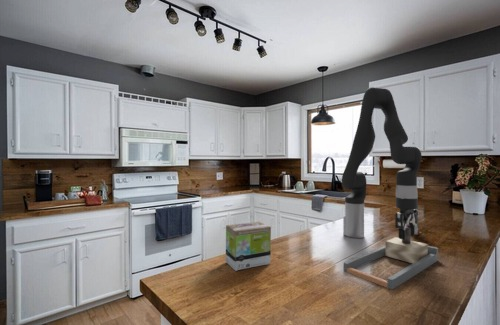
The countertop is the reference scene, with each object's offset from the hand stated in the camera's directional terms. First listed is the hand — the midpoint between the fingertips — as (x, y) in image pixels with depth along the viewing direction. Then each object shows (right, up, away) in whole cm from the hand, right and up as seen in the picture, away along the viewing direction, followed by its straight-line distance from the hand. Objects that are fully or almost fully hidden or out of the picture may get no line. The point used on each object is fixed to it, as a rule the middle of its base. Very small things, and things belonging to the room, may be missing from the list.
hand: (406, 236), depth 105 cm
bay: (-10, -9, -7) cm, 15 cm away
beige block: (0, -9, 0) cm, 9 cm away
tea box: (-64, -10, -3) cm, 64 cm away
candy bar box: (+24, -8, +38) cm, 46 cm away
